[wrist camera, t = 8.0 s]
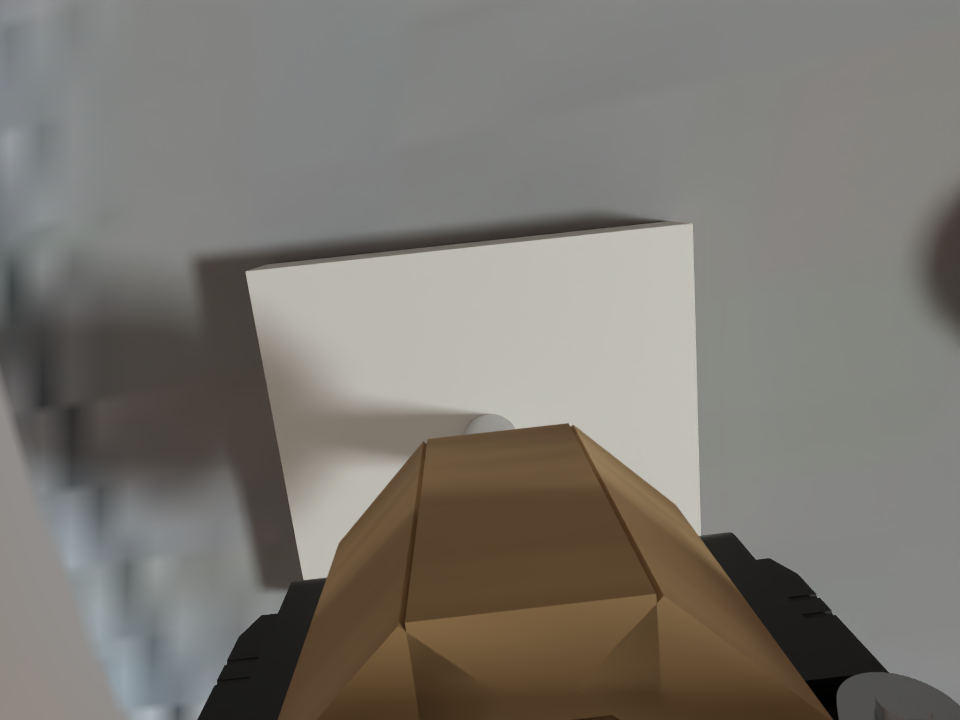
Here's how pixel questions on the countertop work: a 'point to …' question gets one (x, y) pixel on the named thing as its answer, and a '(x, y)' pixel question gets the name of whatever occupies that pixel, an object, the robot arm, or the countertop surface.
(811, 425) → the countertop surface
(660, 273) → the ring peg stand
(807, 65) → the countertop surface
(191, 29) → the countertop surface
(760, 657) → the bead
